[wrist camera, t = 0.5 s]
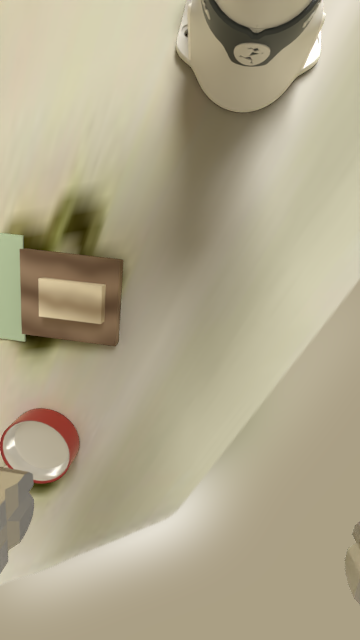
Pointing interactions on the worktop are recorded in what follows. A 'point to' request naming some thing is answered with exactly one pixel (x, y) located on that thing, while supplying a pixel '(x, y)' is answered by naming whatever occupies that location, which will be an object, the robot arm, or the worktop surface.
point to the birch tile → (71, 300)
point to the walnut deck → (72, 269)
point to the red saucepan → (40, 444)
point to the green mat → (10, 287)
